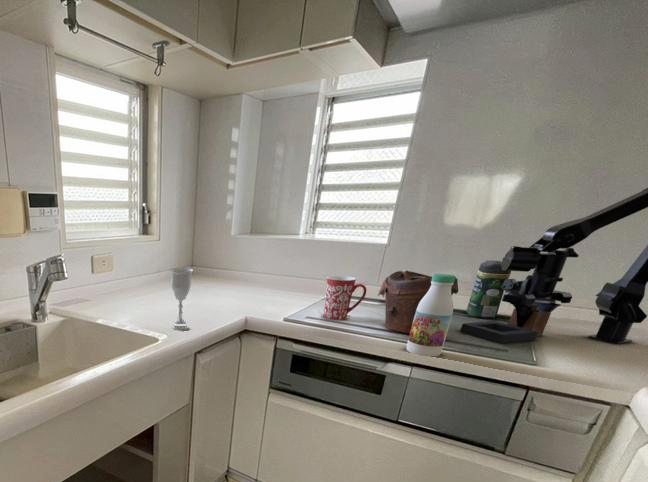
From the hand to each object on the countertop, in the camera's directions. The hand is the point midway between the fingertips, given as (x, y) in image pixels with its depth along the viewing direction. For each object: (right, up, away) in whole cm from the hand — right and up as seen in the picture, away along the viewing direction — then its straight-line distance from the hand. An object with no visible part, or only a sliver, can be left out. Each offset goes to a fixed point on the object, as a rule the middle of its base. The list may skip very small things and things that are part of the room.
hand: (526, 326), depth 119 cm
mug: (-47, +5, +19) cm, 50 cm away
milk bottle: (-41, -9, -14) cm, 44 cm away
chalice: (-103, 0, +8) cm, 103 cm away
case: (-32, 0, +6) cm, 32 cm away
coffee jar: (+3, +6, +21) cm, 22 cm away
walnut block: (0, -2, +1) cm, 2 cm away
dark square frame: (-10, -3, -1) cm, 10 cm away
